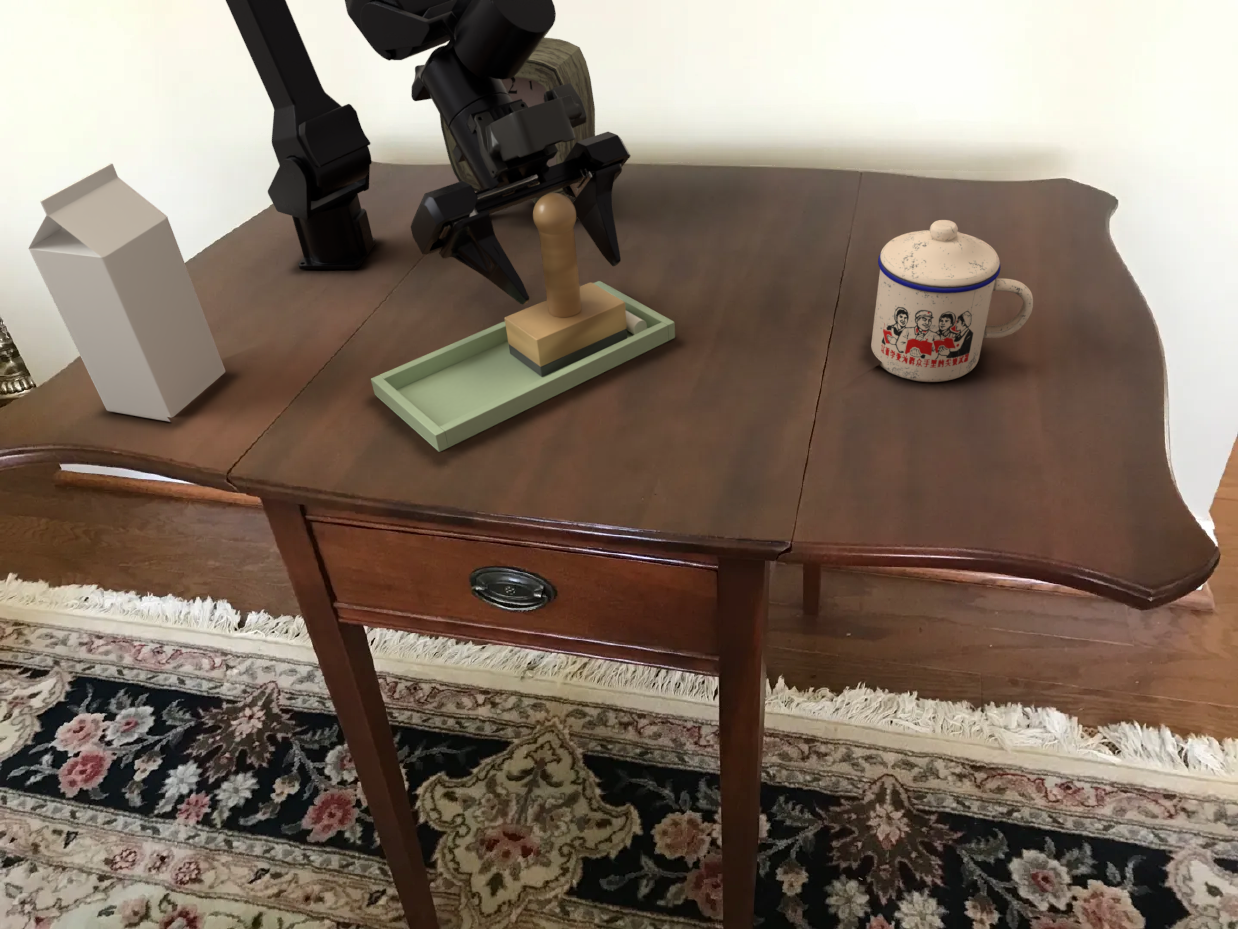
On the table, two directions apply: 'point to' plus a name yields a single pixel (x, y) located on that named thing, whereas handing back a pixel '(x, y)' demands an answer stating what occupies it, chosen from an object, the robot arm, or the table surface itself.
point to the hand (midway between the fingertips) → (572, 282)
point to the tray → (496, 379)
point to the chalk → (634, 323)
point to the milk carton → (125, 296)
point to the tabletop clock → (542, 97)
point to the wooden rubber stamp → (563, 301)
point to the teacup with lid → (938, 303)
